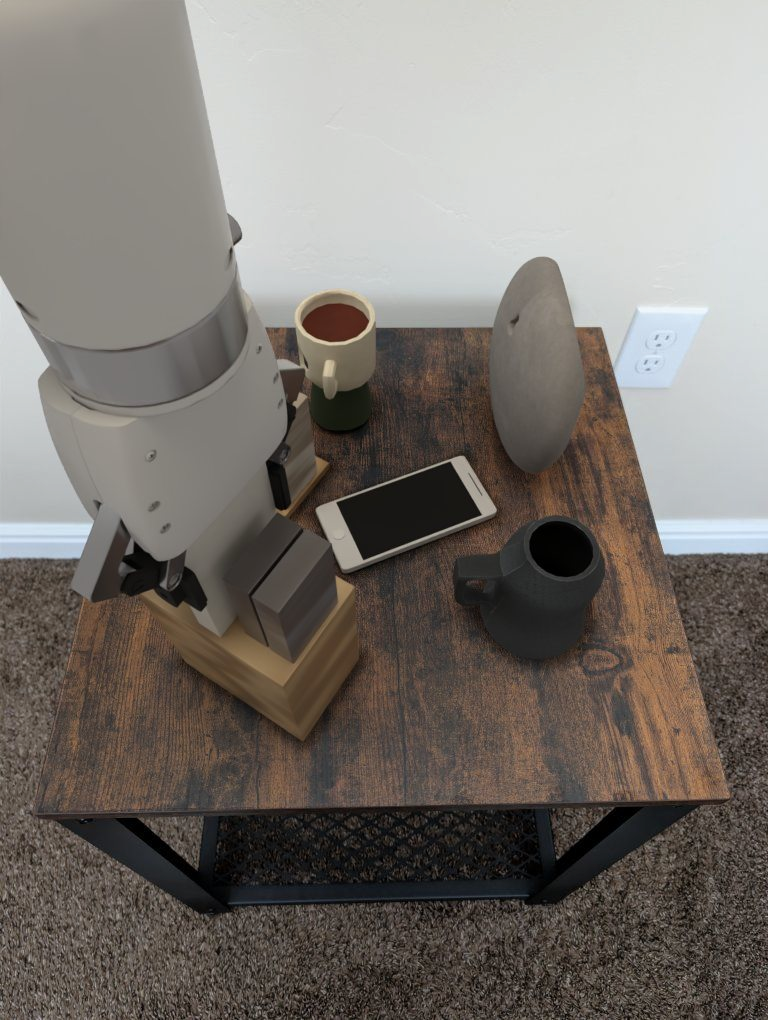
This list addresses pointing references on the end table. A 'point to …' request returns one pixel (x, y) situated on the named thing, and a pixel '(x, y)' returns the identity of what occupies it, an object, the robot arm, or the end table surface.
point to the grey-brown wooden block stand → (302, 457)
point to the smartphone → (404, 513)
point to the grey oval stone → (535, 367)
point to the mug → (535, 586)
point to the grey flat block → (229, 548)
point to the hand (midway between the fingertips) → (227, 543)
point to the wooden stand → (275, 628)
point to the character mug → (337, 356)
